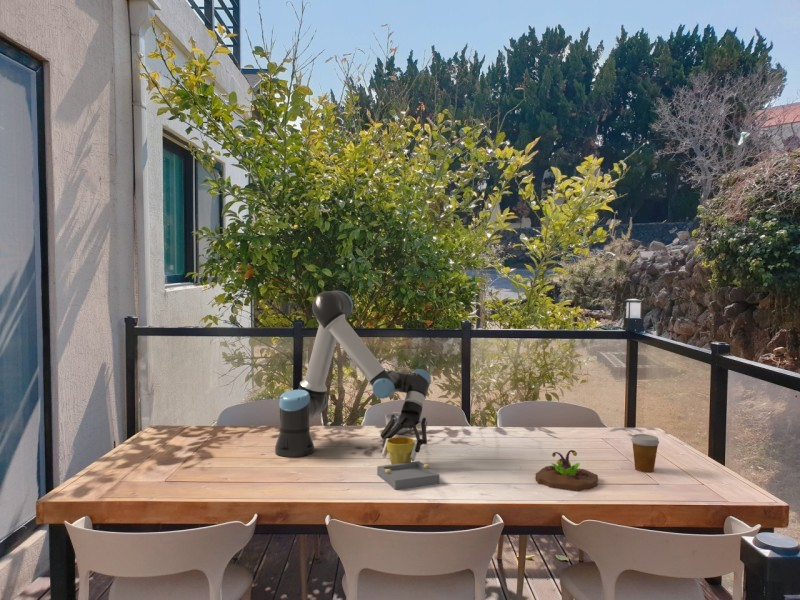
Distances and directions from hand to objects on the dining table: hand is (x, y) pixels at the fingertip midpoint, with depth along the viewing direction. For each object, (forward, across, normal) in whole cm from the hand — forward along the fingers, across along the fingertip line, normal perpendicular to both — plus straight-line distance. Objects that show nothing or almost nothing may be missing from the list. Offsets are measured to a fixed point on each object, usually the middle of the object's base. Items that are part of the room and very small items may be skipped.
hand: (397, 457), depth 219 cm
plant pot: (+1, 0, -5) cm, 5 cm away
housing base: (+9, -7, +3) cm, 12 cm away
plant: (-4, -58, -12) cm, 59 cm away
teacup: (-32, +20, -38) cm, 54 cm away
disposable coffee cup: (-21, -83, -28) cm, 90 cm away
